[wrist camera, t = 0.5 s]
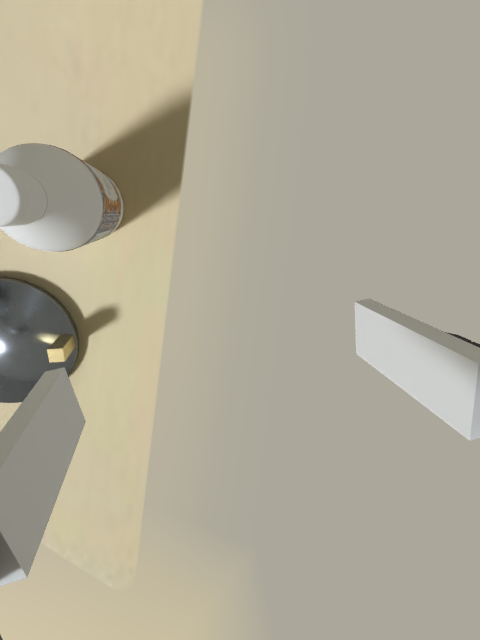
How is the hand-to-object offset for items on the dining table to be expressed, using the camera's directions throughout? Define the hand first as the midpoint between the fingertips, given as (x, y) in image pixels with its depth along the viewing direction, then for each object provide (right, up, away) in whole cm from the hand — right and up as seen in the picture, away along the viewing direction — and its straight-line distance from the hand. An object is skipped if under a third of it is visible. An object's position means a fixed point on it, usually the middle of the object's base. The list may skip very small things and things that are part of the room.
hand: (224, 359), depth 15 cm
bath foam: (-15, +14, +19) cm, 27 cm away
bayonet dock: (-25, 0, +21) cm, 32 cm away
